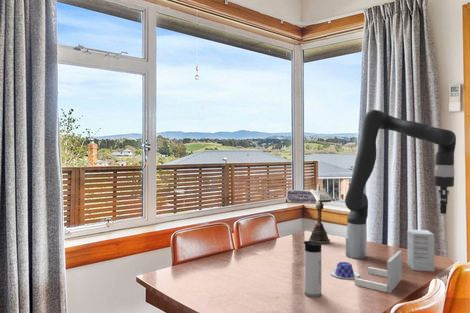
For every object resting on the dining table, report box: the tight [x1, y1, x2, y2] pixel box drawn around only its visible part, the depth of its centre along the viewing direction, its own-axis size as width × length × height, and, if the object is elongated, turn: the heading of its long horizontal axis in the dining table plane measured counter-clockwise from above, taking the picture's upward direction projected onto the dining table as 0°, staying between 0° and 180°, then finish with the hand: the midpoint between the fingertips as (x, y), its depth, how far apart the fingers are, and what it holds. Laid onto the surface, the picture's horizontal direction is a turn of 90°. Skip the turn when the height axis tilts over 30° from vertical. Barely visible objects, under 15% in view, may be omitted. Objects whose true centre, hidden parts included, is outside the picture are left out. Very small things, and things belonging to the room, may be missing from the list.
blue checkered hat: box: [330, 261, 360, 280], centre depth 155 cm, size 12×12×5 cm
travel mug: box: [303, 240, 322, 298], centre depth 134 cm, size 6×7×20 cm
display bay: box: [354, 250, 403, 294], centre depth 146 cm, size 14×18×12 cm
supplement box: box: [407, 229, 435, 272], centre depth 164 cm, size 10×9×17 cm
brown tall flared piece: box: [308, 183, 336, 245], centre depth 209 cm, size 17×13×35 cm
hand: (443, 212), depth 156 cm, fingers open, 8 cm apart
